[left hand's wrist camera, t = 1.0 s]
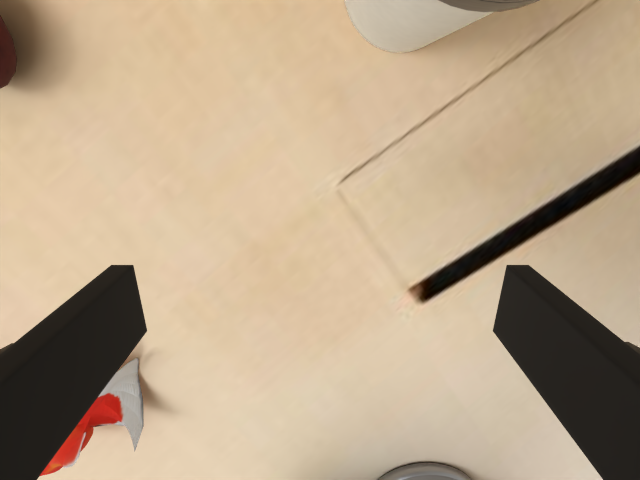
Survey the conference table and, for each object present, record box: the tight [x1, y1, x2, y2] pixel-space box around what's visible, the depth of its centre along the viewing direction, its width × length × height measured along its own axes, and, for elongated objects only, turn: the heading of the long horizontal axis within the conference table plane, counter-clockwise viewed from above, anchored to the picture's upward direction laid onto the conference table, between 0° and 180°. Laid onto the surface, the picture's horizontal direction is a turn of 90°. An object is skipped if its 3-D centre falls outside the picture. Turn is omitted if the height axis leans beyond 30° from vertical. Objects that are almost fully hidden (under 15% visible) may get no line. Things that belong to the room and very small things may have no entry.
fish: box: [40, 358, 143, 476], centre depth 38 cm, size 11×16×10 cm
